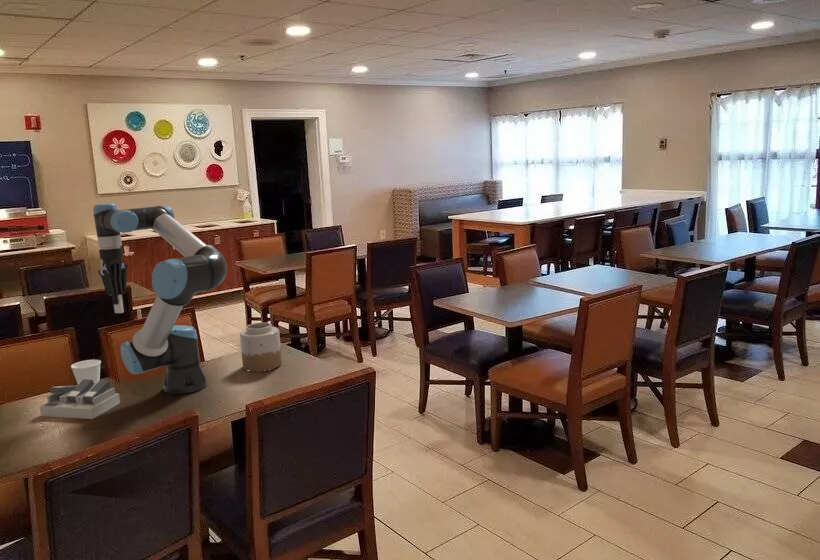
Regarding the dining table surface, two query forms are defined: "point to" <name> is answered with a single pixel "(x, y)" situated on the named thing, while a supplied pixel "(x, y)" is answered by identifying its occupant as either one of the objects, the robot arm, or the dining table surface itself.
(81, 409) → the switch unit
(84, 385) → the rocker
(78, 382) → the cup
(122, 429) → the dining table surface
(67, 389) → the rocker
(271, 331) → the vase
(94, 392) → the rocker
